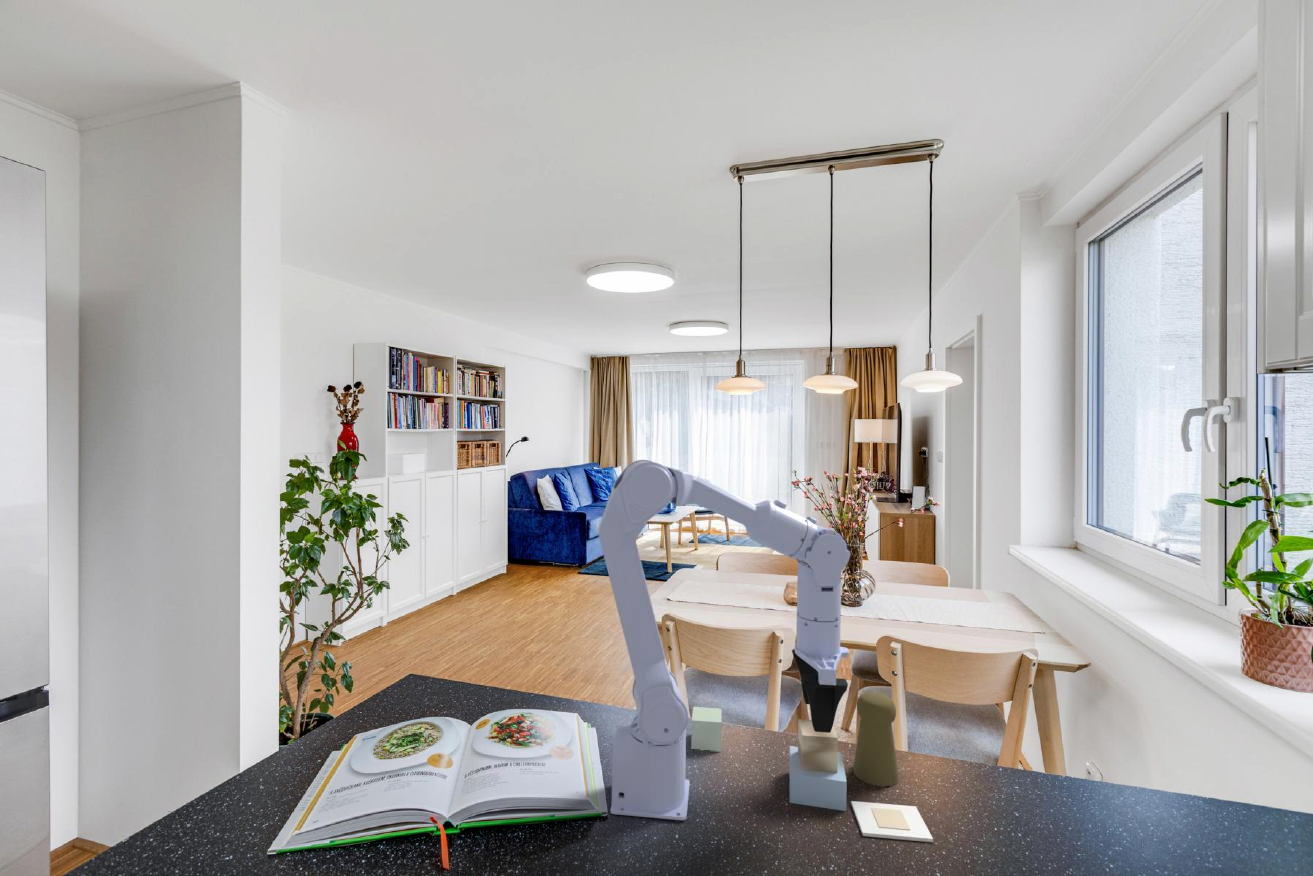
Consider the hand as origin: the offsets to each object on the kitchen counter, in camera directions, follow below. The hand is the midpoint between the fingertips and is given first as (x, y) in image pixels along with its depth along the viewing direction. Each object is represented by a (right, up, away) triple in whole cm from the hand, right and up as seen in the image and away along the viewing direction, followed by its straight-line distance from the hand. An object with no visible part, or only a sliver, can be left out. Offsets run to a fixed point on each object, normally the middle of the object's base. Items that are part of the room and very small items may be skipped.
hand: (817, 716), depth 76 cm
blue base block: (0, -10, 0) cm, 10 cm away
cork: (+9, -10, +4) cm, 14 cm away
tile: (+7, -10, -6) cm, 14 cm away
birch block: (0, -6, 0) cm, 6 cm away
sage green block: (-14, -10, +12) cm, 21 cm away
